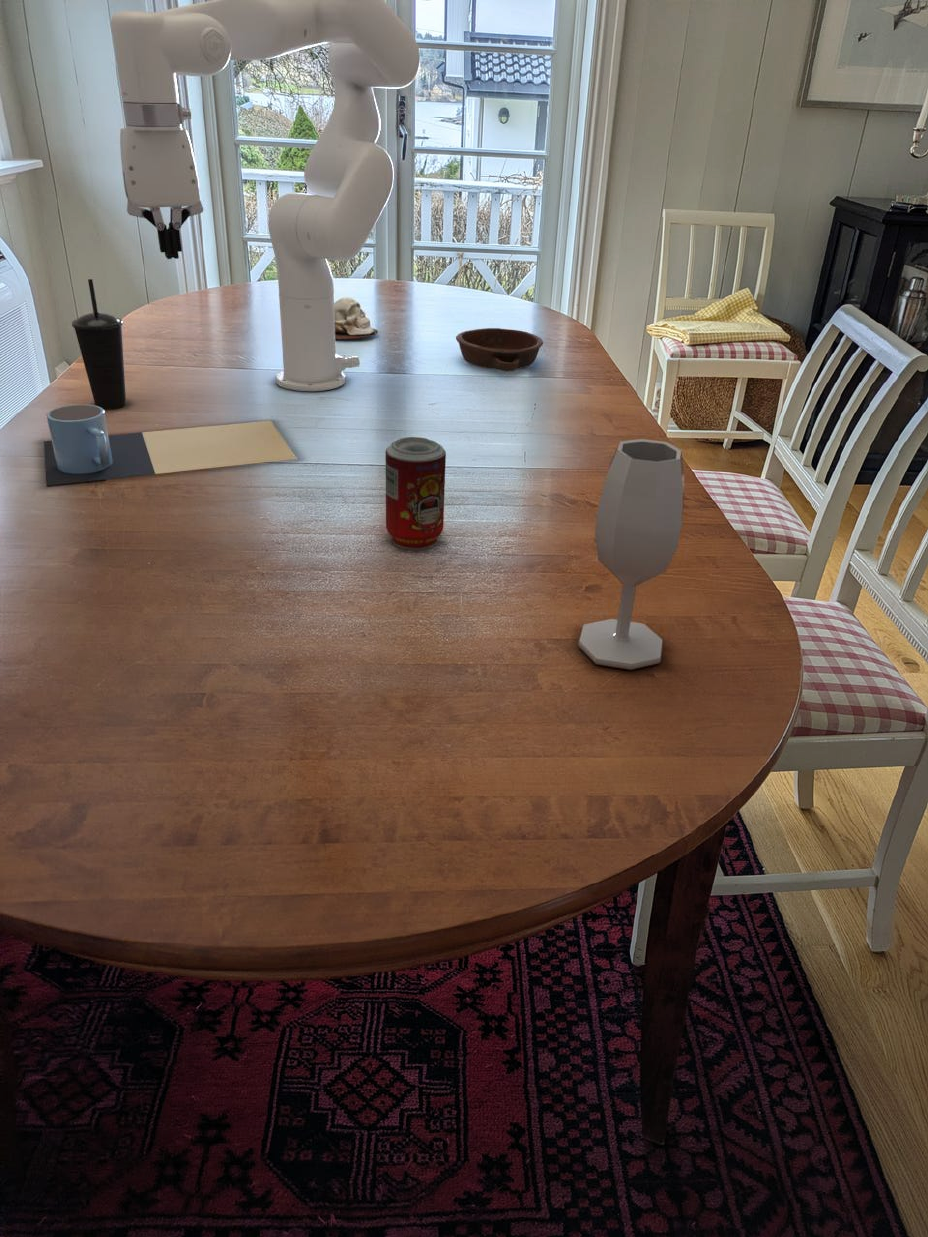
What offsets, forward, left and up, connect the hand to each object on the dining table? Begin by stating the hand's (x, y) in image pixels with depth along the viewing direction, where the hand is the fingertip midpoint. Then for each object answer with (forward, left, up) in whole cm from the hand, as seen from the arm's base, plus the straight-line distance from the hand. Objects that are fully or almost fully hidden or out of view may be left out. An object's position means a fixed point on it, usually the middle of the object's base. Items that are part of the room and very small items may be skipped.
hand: (171, 256), depth 136 cm
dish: (-65, 0, -25) cm, 70 cm away
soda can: (-4, +58, -25) cm, 63 cm away
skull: (-51, -34, -25) cm, 66 cm away
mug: (+21, +15, -24) cm, 35 cm away
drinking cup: (+9, -12, -25) cm, 29 cm away
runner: (+9, +14, -25) cm, 29 cm away
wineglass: (-7, +90, -25) cm, 94 cm away
